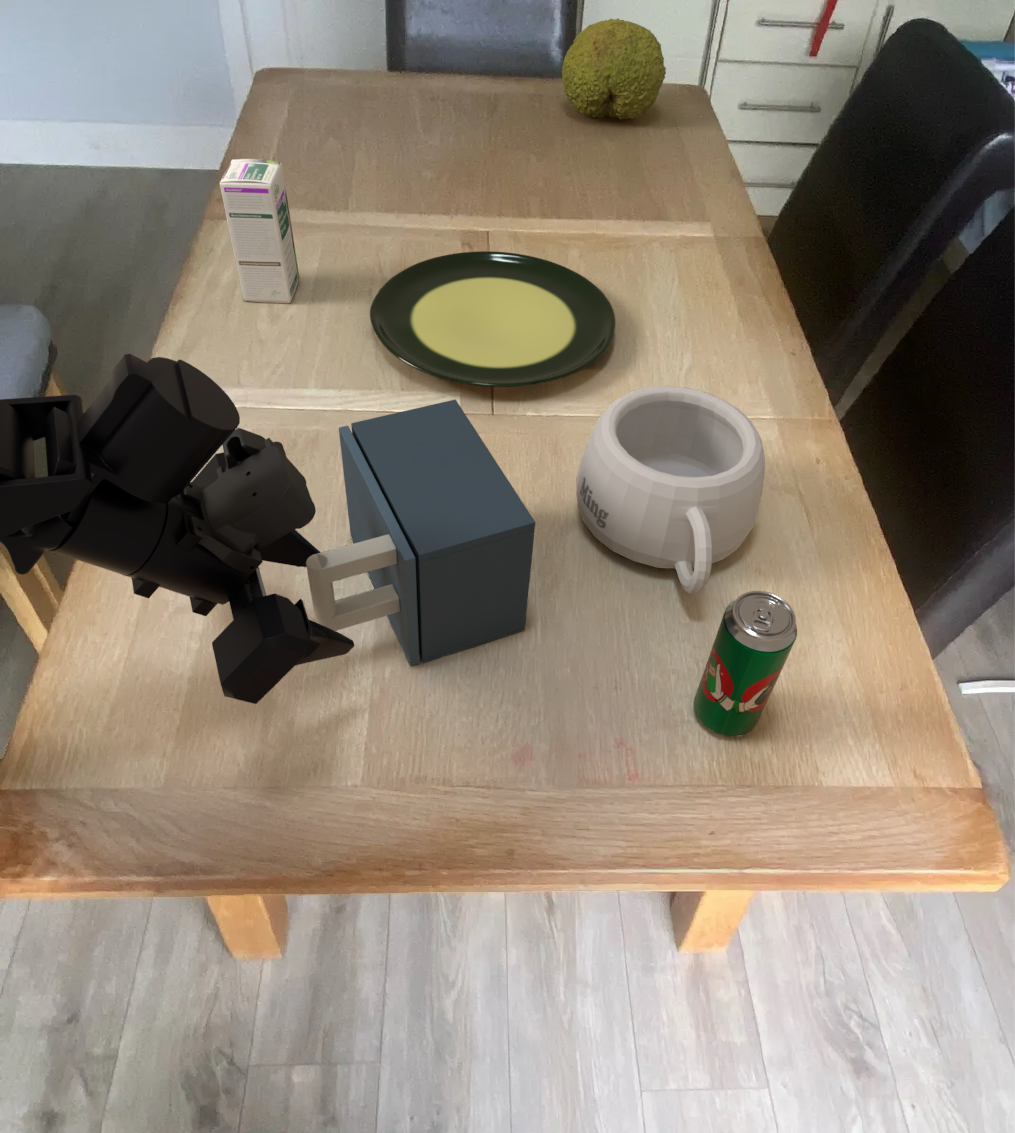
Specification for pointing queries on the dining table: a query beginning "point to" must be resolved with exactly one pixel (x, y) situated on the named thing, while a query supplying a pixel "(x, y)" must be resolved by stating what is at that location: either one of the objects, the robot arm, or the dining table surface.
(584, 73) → the fruit
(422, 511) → the cabinet
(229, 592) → the robot arm
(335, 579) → the cabinet door
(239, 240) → the syrup box
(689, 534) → the mug
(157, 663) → the dining table surface
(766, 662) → the soda can
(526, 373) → the plate
